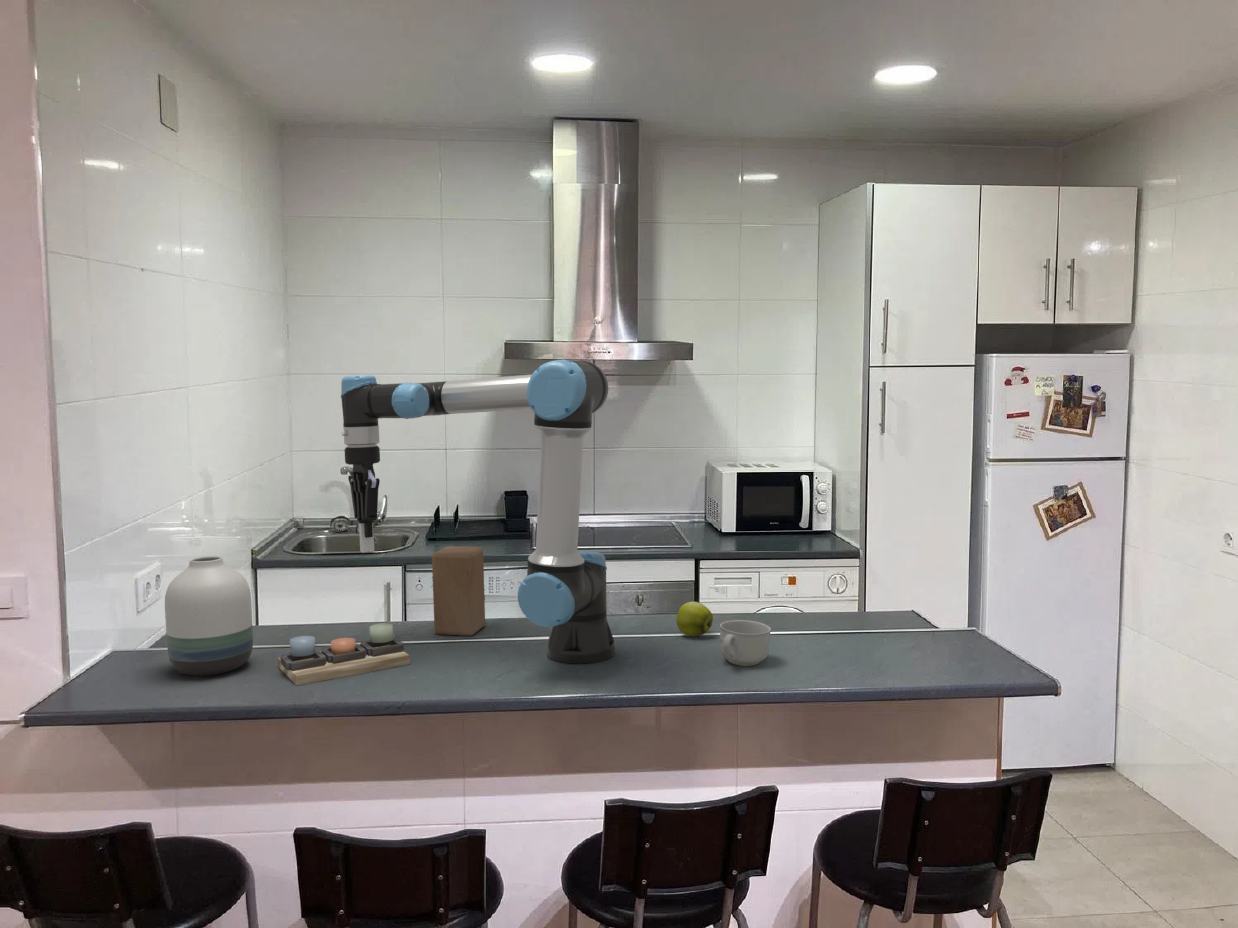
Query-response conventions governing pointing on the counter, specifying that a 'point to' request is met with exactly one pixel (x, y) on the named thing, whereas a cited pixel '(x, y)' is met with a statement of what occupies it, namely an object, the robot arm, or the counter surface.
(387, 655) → the button panel
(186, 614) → the vase
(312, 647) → the slate button
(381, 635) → the sage button
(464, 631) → the block
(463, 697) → the counter surface
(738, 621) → the teacup
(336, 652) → the terracotta button
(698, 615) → the apple
